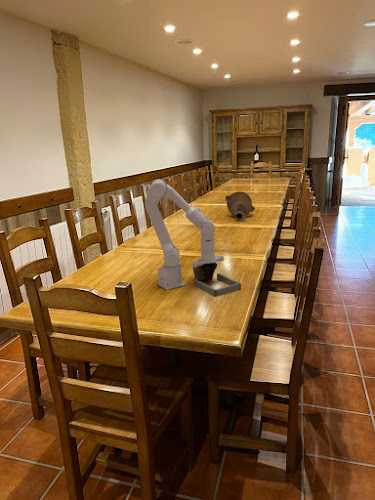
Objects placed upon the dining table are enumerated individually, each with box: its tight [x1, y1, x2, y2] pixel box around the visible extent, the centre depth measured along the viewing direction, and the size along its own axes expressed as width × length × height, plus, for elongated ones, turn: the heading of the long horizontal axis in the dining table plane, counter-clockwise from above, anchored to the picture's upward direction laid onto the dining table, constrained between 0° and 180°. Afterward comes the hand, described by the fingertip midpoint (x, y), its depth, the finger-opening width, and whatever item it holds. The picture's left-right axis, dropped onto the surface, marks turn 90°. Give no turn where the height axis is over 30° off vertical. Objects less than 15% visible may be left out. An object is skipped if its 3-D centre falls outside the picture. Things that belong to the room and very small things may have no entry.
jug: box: [224, 191, 255, 223], centre depth 284 cm, size 20×20×30 cm
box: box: [192, 266, 206, 281], centre depth 162 cm, size 6×6×7 cm
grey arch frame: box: [193, 272, 242, 297], centre depth 154 cm, size 13×15×2 cm
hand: (209, 279), depth 159 cm, fingers closed, pressing on box
